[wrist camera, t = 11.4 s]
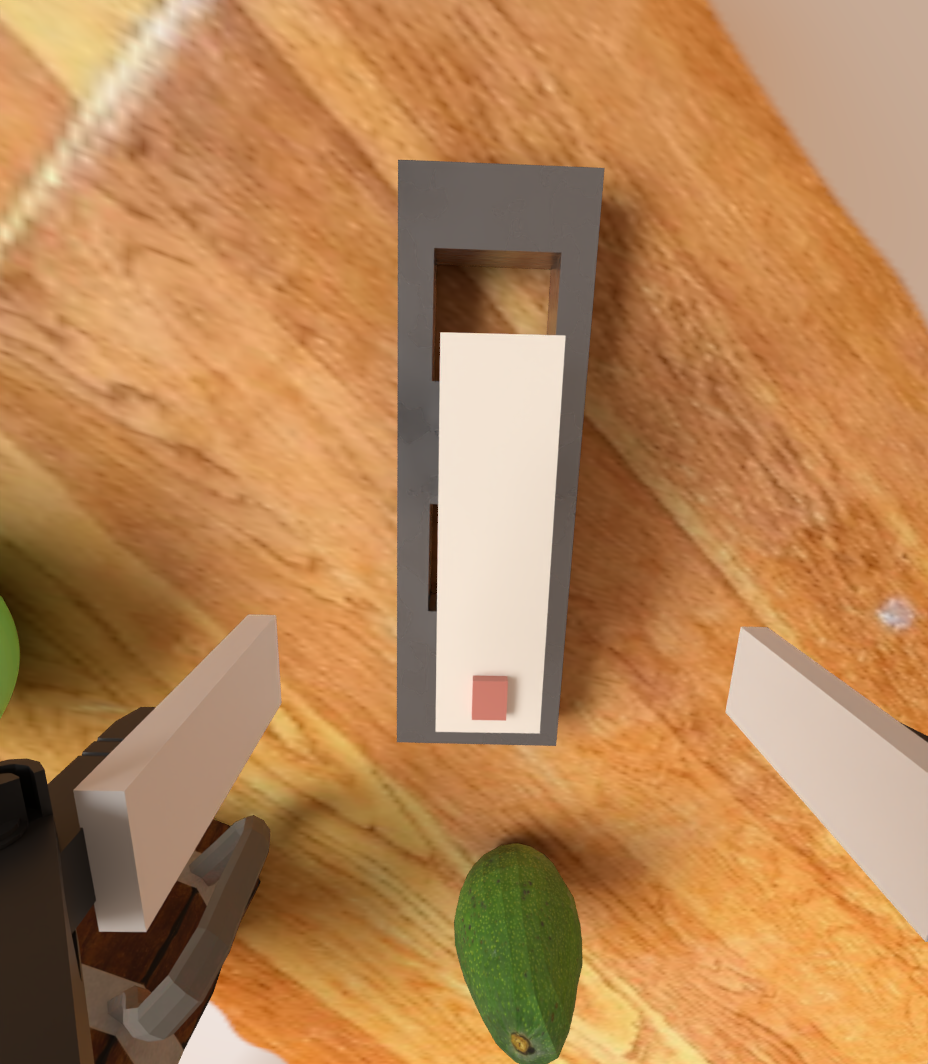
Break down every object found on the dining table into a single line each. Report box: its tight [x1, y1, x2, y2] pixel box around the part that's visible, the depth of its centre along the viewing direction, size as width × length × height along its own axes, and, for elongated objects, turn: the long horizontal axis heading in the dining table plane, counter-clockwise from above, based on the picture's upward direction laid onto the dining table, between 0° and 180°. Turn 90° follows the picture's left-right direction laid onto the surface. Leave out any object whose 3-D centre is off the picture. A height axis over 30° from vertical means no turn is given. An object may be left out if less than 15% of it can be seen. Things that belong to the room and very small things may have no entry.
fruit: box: [454, 843, 582, 1064], centre depth 32 cm, size 8×8×12 cm
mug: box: [76, 815, 270, 1064], centre depth 30 cm, size 20×14×15 cm
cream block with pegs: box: [436, 332, 565, 733], centre depth 27 cm, size 18×5×10 cm, turn 179°
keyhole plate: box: [397, 160, 604, 746], centre depth 30 cm, size 32×10×3 cm, turn 178°
